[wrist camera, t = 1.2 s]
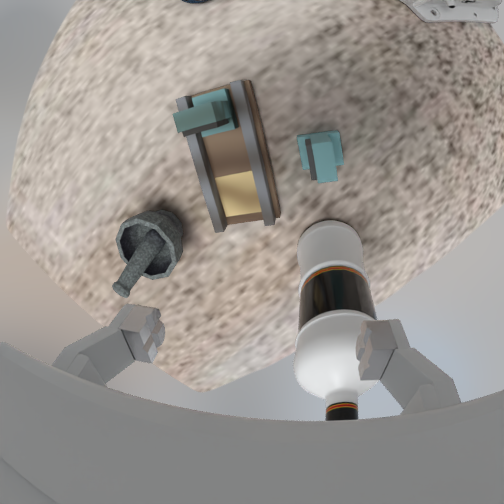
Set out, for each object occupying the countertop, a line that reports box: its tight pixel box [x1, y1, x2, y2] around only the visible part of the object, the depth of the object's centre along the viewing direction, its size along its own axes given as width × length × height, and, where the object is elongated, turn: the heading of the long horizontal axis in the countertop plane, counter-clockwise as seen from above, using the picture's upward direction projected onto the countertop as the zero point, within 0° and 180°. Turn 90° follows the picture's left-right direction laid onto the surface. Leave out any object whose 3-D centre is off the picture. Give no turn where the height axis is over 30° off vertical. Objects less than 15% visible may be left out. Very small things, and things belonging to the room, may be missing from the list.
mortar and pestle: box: [112, 210, 183, 298], centre depth 37 cm, size 11×9×12 cm
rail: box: [173, 80, 281, 233], centre depth 30 cm, size 18×9×10 cm, turn 13°
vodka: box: [293, 220, 379, 421], centre depth 26 cm, size 9×9×30 cm
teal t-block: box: [297, 130, 344, 183], centre depth 28 cm, size 5×4×8 cm
